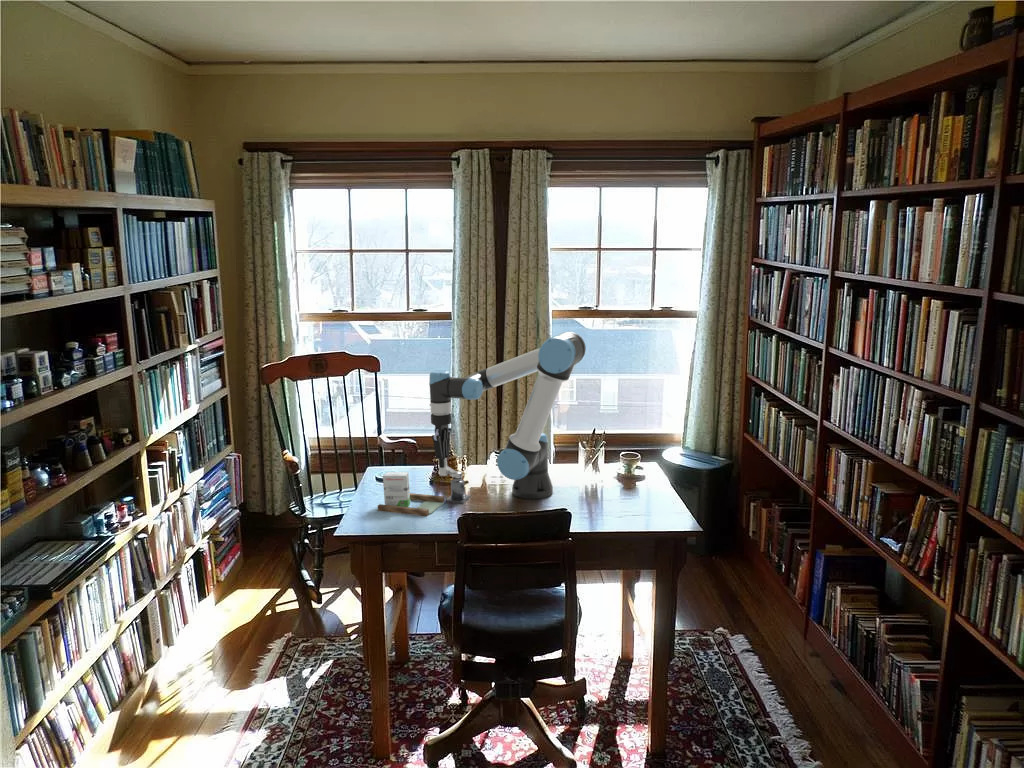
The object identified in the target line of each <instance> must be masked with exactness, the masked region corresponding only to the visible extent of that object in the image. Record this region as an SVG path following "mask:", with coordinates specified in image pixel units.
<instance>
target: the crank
mask: <svg viewBox="0 0 1024 768" xmlns="http://www.w3.org/2000/svg"><path fill="white" fill-rule="evenodd" d="M447 475H449V476H451V477H452V480H454V479H462V480H463V471H460V470H455V469H453V468H451V467H450V466H449V465H447Z"/></svg>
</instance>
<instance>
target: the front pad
mask: <svg viewBox="0 0 1024 768" xmlns="http://www.w3.org/2000/svg"><path fill="white" fill-rule="evenodd" d="M443 505H444V502H443V503H442V502H432V501H423V502H422V503H421V504H419V506H417V507H416V508H421V509H429V515H432V514H433V513H434V512H435V511H437V510H438V509H439V508H441V506H443Z"/></svg>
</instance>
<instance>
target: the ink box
mask: <svg viewBox="0 0 1024 768" xmlns="http://www.w3.org/2000/svg"><path fill="white" fill-rule="evenodd" d="M382 483H383V485H382V486H383V500H384V505H392V506H402V507H409V506H410V504H411V500H410V493H411V489H410V475H409V472H403V471H402V472H400V471H399V472H397V471H396V472H395V471H393V472H392V471H391V472H389V471H387V472H385V473H384V474H383V475H382Z"/></svg>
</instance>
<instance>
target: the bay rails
mask: <svg viewBox="0 0 1024 768" xmlns="http://www.w3.org/2000/svg"><path fill="white" fill-rule="evenodd" d="M410 501H418V502H425V501H432V502H442V503H443V504H444V503H445V496H443V495H441V496H440V495H433V494H423V493H413V492H412V493H411V492H410ZM377 512H384V513H392V514H403V515H412V516H421V517H428V516H429V515H430V514H429V509H421V508H417V507H409V506H408V507H402V506H392V505H385V504H381V503H379V504H378V505H377Z"/></svg>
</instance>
